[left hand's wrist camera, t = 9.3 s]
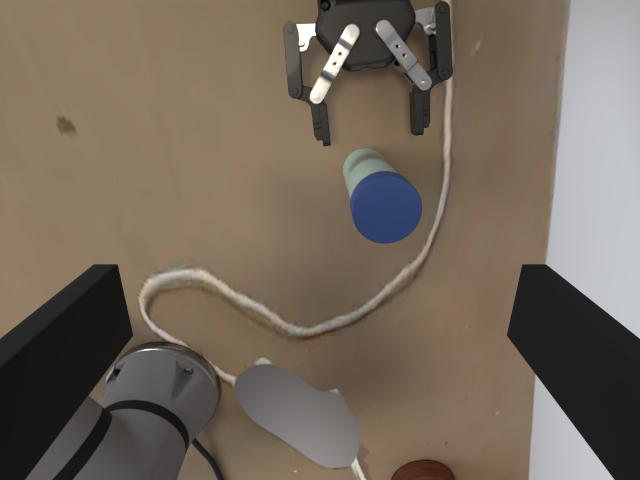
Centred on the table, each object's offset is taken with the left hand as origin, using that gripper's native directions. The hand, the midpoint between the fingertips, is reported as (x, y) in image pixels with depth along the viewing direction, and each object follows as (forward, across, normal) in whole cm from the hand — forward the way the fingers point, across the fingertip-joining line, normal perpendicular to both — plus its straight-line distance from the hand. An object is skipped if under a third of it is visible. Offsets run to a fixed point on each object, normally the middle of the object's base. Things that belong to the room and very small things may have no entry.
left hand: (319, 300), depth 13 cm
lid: (+17, +5, -2) cm, 18 cm away
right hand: (+26, +5, +2) cm, 27 cm away
